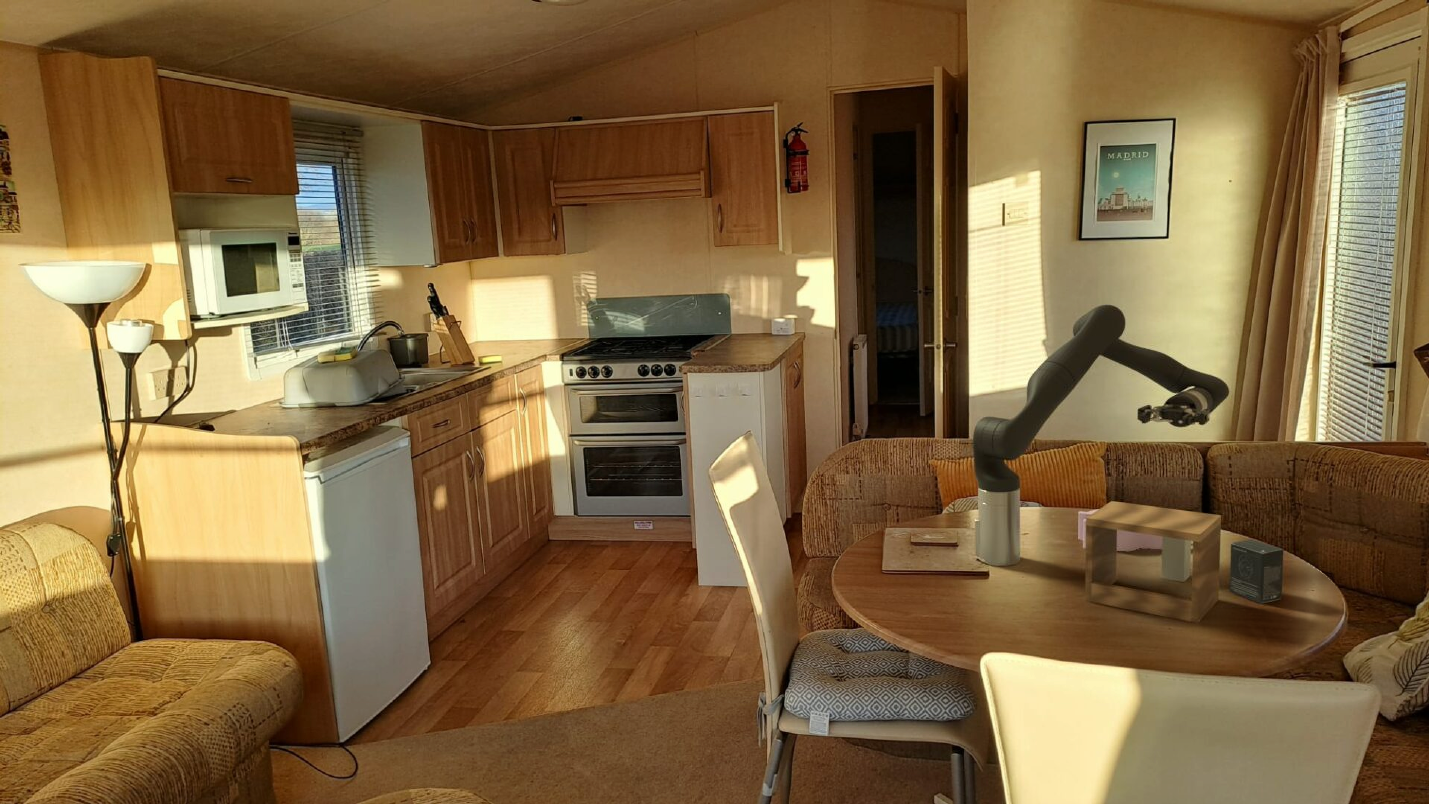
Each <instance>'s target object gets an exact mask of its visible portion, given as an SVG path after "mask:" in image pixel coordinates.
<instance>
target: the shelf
mask: <svg viewBox="0 0 1429 804" xmlns="http://www.w3.org/2000/svg"><path fill="white" fill-rule="evenodd" d="M1096 510H1097V509H1096ZM1221 528H1222V515H1220V514H1213V513H1206V512H1205V513H1204V512H1198V511H1189V510H1182V509H1175V508H1166V507H1159V506H1154V505H1153V506H1152V505H1145V504H1137V503H1129V502H1123V501H1122V502H1120V501H1114V500H1111V501H1110V502H1108V503H1106V504H1105V505H1104V506H1102V507H1101V508H1099V510H1097V511H1096V512H1094V513H1093V514H1091V515H1090V516H1088V517H1087V518H1086V549H1085V590H1084V591H1085V594H1084V595H1085V598H1084V599H1085V600H1084V601H1085V602H1089V603H1094V604H1100V605H1104V606H1110V607H1114V608H1120V609H1126V610H1131V611H1135V612H1141V613H1145V614H1150V615H1156V616H1160V617H1164V618H1165V617H1167V618H1170V619H1171V618H1172V619H1176V620H1181V621H1184V622H1185V621H1187V622H1192V623H1197V624H1198V623H1199V622H1200V621H1201V620H1202V619H1203V617H1205V615H1206V614H1207V613H1208V612H1209V611H1210V610H1211V609H1212V607H1214V605H1215V604H1216V603H1217V602H1218V601H1219V599H1220V598H1219V596H1220V595H1219V593H1220V592H1219V589H1220V565H1221V564H1220V562H1221V561H1220V559H1221V531H1222V529H1221ZM1117 530H1122V531H1129V532H1135V533H1142V534H1149V535H1155V536H1162V537H1169V538H1176V539H1182V540H1189V541H1191V542H1192V563H1191V565H1192V568H1191V569H1192V571H1191V598H1185V597H1180V596H1175V595H1169V594H1163V593H1159V592H1152V591H1148V590H1143V589H1142V590H1141V589H1137V588H1131V587H1126V586H1121V585H1117V584H1116V585H1115V583H1116V582H1117V557H1118V555H1117V553H1118V552H1117ZM1217 600H1218V601H1217ZM1201 618H1202V619H1201ZM1199 620H1200V621H1199Z"/></svg>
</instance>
